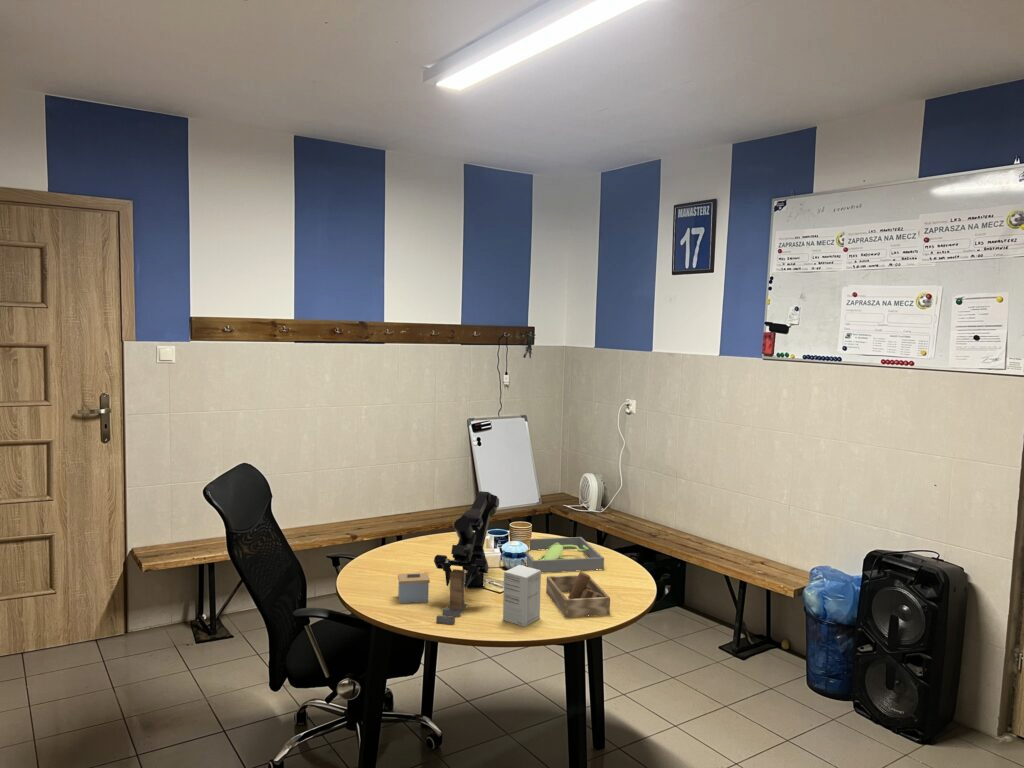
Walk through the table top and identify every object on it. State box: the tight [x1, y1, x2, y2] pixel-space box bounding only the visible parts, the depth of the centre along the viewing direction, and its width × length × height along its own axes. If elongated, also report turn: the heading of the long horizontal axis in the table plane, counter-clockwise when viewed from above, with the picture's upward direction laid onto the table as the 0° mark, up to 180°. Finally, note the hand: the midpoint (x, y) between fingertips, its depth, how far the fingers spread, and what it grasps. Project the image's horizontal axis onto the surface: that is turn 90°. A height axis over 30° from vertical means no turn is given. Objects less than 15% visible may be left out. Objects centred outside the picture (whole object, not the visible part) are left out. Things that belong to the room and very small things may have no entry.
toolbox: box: [397, 572, 431, 604], centre depth 266 cm, size 11×8×9 cm
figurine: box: [531, 543, 589, 560], centre depth 315 cm, size 18×27×6 cm
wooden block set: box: [567, 571, 604, 599], centre depth 267 cm, size 18×9×10 cm, turn 15°
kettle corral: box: [526, 536, 605, 574], centre depth 315 cm, size 30×30×5 cm
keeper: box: [435, 607, 462, 625], centre depth 249 cm, size 8×6×2 cm
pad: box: [446, 603, 468, 613], centre depth 259 cm, size 6×6×1 cm
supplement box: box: [502, 564, 542, 627], centre depth 250 cm, size 10×9×17 cm
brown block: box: [449, 568, 466, 610], centre depth 258 cm, size 4×4×12 cm
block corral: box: [545, 574, 611, 618], centre depth 267 cm, size 16×24×6 cm, turn 13°
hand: (456, 586), depth 257 cm, fingers open, 6 cm apart
